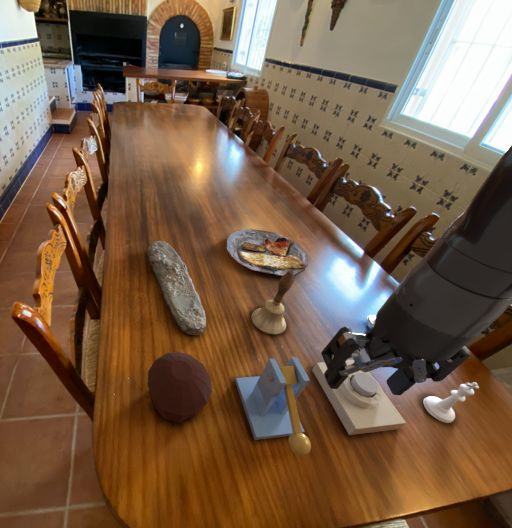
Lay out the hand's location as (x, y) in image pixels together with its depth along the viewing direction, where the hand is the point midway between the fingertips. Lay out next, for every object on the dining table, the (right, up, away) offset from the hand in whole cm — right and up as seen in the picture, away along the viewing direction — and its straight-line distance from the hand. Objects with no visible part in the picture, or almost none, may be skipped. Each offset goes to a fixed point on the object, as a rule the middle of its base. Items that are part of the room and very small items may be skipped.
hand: (361, 385), depth 41 cm
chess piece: (+27, -12, +17) cm, 34 cm away
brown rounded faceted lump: (-25, -9, +15) cm, 31 cm away
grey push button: (+10, -6, +15) cm, 20 cm away
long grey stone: (-24, +11, +40) cm, 48 cm away
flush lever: (-7, -7, +8) cm, 13 cm away
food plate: (+5, +19, +53) cm, 57 cm away
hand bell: (-1, +3, +32) cm, 32 cm away
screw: (+25, +1, +33) cm, 41 cm away
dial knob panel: (+10, -10, +18) cm, 23 cm away
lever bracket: (-8, -10, +15) cm, 20 cm away
